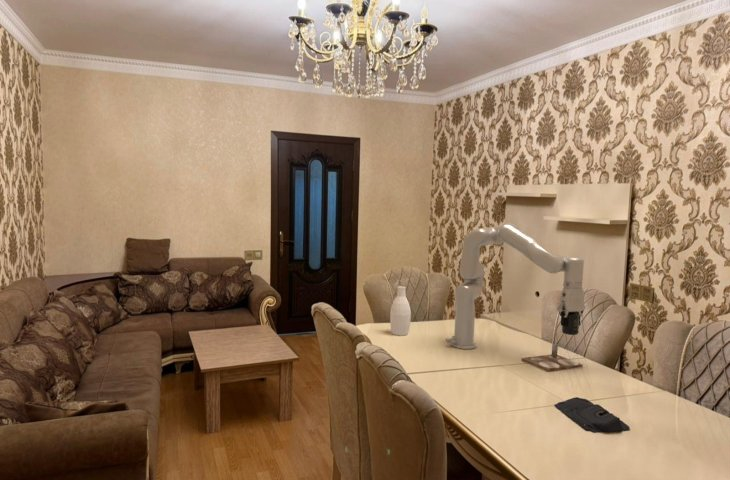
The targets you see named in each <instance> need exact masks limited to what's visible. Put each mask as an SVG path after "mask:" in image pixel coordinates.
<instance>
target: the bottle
mask: <svg viewBox="0 0 730 480" xmlns="http://www.w3.org/2000/svg"><path fill="white" fill-rule="evenodd" d="M396 288H397V292H396V293H397V294H396V296H395V297H394V300H393V301H392V304H391V307H390V313H389V316H390V317H389V318H390V319H389V320H390V333H391V335H394V336H400V337H402V336H408V334H409V332H410V326H411V317H412V312H411V305H410V302H409V300H408V299H407V296H406V294H407V293H406V289H407V288H406V286H403V285H399V286H397V287H396Z"/></svg>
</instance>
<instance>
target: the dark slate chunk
mask: <svg viewBox="0 0 730 480" xmlns="http://www.w3.org/2000/svg"><path fill="white" fill-rule="evenodd" d="M553 406H554V408H555V409H556V410H558V411H560V412H561V414H563V415H564V416H565V417H567V418H568V419H569V420H571V421H572V422H573V423H575V424H576V425H577V426H578V427H580V428H581V429H583V430H584V431H586V432H591V433H592V434H597V433H598V434H599V433H606V434H608V433H609V434H612V433H613V434H614V433H620V432H624V431H627V430H630V429H631V428H630V426H629V425H628V424H627V423H625V422H624V421H623V420H621V419H620V417H618V416H616V415H614V413H611V412H610V411H608V410H607V409H606V408H604V407H602V406H601V405H600V404H599V403H598V404H594V403H593V402H591V400H588V399H586V398H582V397H577V396H575V397H572V398H569V399H566V400H564V401H559V402H557V403H555V404H554V405H553Z"/></svg>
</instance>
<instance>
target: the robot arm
mask: <svg viewBox="0 0 730 480" xmlns="http://www.w3.org/2000/svg"><path fill="white" fill-rule="evenodd" d="M503 243H506V244H507V245H509V246H510V247H512V248H513V249H514V250H517V251H518V252H519V253H521V254H522V255H523V256H525V258H527V259H528V260H529V261H530V262H532V263H533V264H535V265H536V266H538V267H539V268H541V269H543V271H545V272H547V273H549V274H558V273H562V272H564V273H563V274H564V275H563V283H562V286H563V287H562V290H561V295H560V303H559V305H558V307H557V308H556V311H557V312H558V314H559V316H560V326H561V327H562V326H565V327H567V323H568V318H567V315H568V313H569V312H577V313H578V314H579V326H581V317H582V315H583V313H584V311H585V310H586V305H585V292H584V288H583V279H584V259H583V258H581V257H571V256H569V257H567V256H563V255H556V254H555V255H553V254H551V253H550V252H549V251H547V250H545V249H544V248H543V247H541V246H540V245H539V243H538V242H537V240H536V239H535V238H533V237H532V236H530V235H528V234H527V233H525V232H524V231H522V230H521V229H520V227H519V226H518V225H517V224H514V223H512V222H511V223H503V224H502V225H497V226H490V227H480V228H479V227H478V228H475V229H473V230H471V231H469V232H468V233H467V234H466V236H465V237H464V239H463V243H462V249H461V250H462V252H461V259H460V266H459V276H460V278H462V279H463V280H464V282H462V283H460V284H458V285H457V286H456V288H455V291H454V302H455V309H454V311H455V312H454V315H455V316H454V335H452V337H451V338H445V343H446V344H447V343H448V344H449V343H450V345H451V347H454V348H457V349H463V350H472V349H475V348H477V343H475V342H474V339H475V321H476V320H475V318H476V307H475V300H476V299H478V298H480V296H481V295H482V291H483V284H484V276H485V269H484V268H485V267H484V265H483V263H482V262H481V261H480V254H481V251H480V249H481V247H482V246H490V245H496V244H503ZM564 312H565V314H564Z"/></svg>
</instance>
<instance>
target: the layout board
mask: <svg viewBox="0 0 730 480" xmlns="http://www.w3.org/2000/svg"><path fill="white" fill-rule="evenodd" d="M551 346H552V347H551V354H545V355H534V356H528V357H521V361H523V362H524V363H527V364H529V365H531V366H534V367H536V368H538V369H540V370H543V371H545V372H556V371H563V370H565V371H566V370H572V369H578V368H583V363H580V362H577V361H574V360H572V359H569V358H567V357H564V356H561V355H559V354H558V350H559V349H558V348H559V344H558V343H552V344H551Z"/></svg>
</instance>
